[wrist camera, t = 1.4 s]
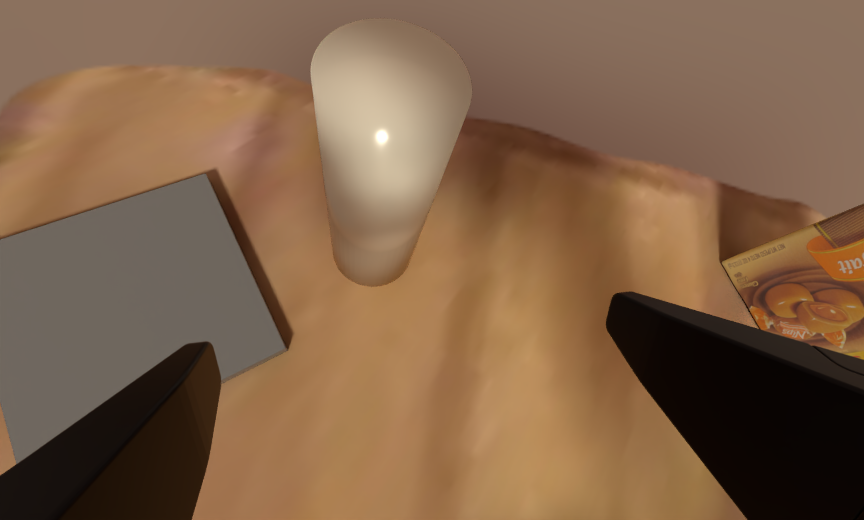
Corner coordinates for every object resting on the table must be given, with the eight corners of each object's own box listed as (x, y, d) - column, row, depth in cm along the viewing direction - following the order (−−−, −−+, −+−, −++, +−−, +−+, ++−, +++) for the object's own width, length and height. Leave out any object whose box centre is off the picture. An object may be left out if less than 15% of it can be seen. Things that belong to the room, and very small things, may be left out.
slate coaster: (287, 350, 20) (285, 348, 19) (35, 476, 17) (20, 479, 16) (210, 180, 23) (205, 173, 22) (-25, 258, 19) (-40, 252, 18)
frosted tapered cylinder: (420, 228, 24) (487, 51, 12) (397, 297, 22) (450, 168, 10) (349, 204, 24) (345, -3, 12) (320, 271, 22) (282, 107, 10)
